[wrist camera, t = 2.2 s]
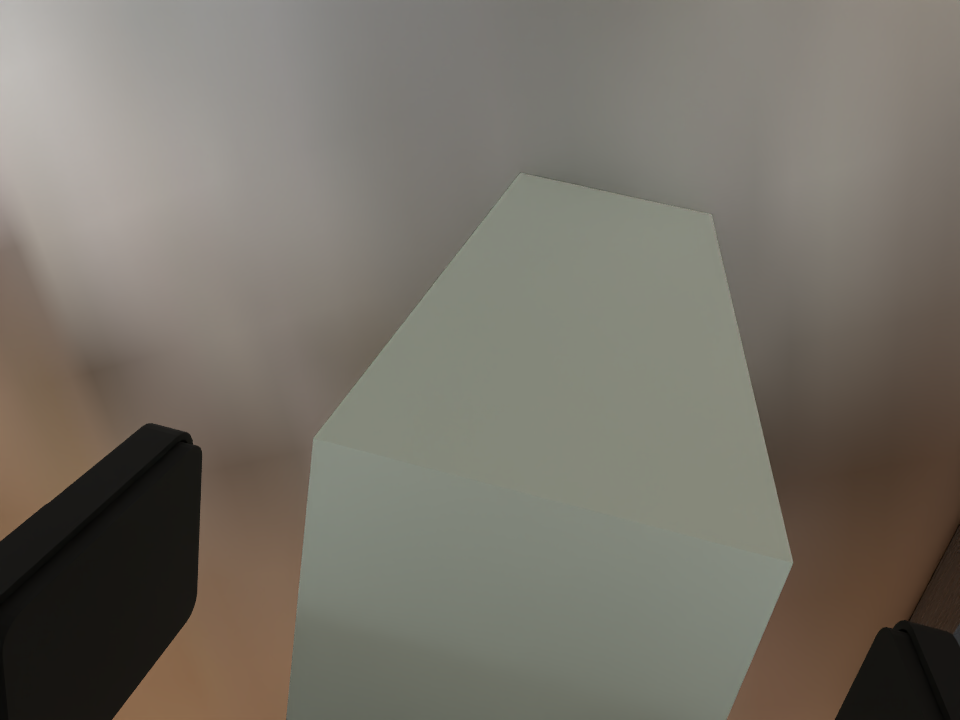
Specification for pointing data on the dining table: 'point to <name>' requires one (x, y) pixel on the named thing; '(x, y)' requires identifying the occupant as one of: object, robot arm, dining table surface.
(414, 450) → the pale green rectangular prism
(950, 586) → the rack
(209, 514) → the dining table surface
